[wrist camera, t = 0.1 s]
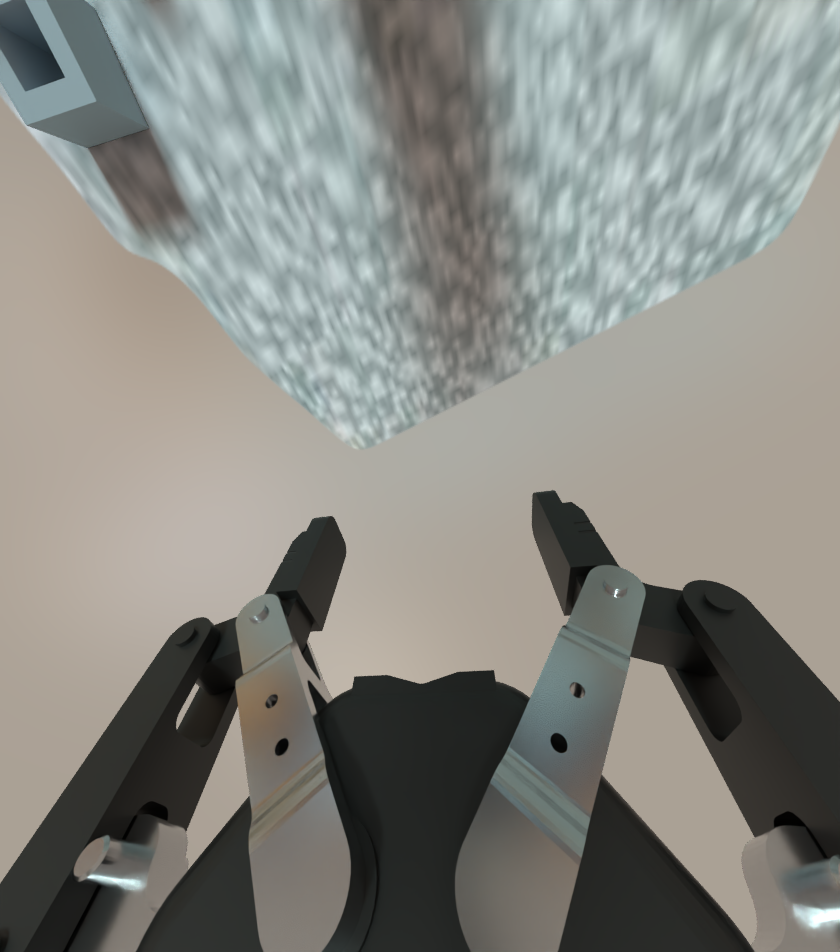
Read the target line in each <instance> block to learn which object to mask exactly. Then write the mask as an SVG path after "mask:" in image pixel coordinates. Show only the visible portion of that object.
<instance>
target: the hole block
mask: <svg viewBox="0 0 840 952" xmlns="http://www.w3.org/2000/svg"><path fill="white" fill-rule="evenodd" d="M0 82H1V84H2V86H3V87H4V89H5V91H6V92H7V94H8V96H9V97H10V99H11V101H12V102H13V104H14V106H15V107H16V109H17V111H18V112H19V114H20V116H21V117H22V119H23V121H24V122H25V124H26V125H27V126H30V127H32V128H35V129H38V130H40V131H43V132H46V133H48V134H51V135H54V136H56V137H59V138H62V139H64V140H67V141H70V142H72V143H75V144H78V145H80V146H83V147H86V148H89V147H92V146H96V145H99V144H102V143H105V142H108V141H111V140H114V139H118V138H121V137H124V136H127V135H130V134H133V133H136V132H140V131H143V130H146V129H149V127H148V125H147V123H146V121H145V119H144V116H143V114H142V112H141V110H140V108H139V105H138V103H137V101H136V99H135V97H134V94H133V92H132V90H131V88H130V86H129V83H128V81H127V79H126V77H125V75H124V72H123V70H122V68H121V66H120V64H119V61H118V59H117V57H116V55H115V53H114V50H113V48H112V46H111V44H110V42H109V39H108V37H107V35H106V33H105V30H104V28H103V26H102V24H101V22H100V19H99V17H98V15H97V13H96V11H95V8H93V7H92V6H91V5H90V4H88V3H87V2H86V1H85V0H0Z"/></svg>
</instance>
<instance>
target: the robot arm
mask: <svg viewBox="0 0 840 952" xmlns="http://www.w3.org/2000/svg"><path fill="white" fill-rule="evenodd" d="M532 528H533V534H534V538H535V541H536V543H537V546H538V548H539V551H540V554H541V556H542V559H543V561H544V564H545V566H546V569H547V572H548V574H549V577H550V580H551V582H552V585H553V588H554V590H555V593H556V595H557V598H558V600H559V603H560V606H561V608H562V611H563V613H564V616H566V615H570V618H569V620H568V622H567V624H566V626H562V628H561V630H560V632H559V634H558V636H557V638H556V641H555V643H554V645H553V647H552V650H551V652H550V654H549V656H548V659H547V661H546V663H545V666H544V668H543V670H542V672H541V675H540V677H539V679H538V681H537V684H536V686H535V688H534V691H533V693H532V695H531V697H530V698H529V697H528V696H527V695H525V694H524V693H522V692H521V691H519V690H517V689H515V688H514V687H511V686H509V685H506V684H504V683H500V682H496V681H495V675H494V670H491V671H469V672H457V673H454V674H451V675H448V676H445V677H442V678H439V679H436V680H433V681H430V682H427V683H424V684H418V683H415V682H411V681H407V680H403V679H399V678H396V677H392V676H388V675H381V676H359V677H354V682H353V688H352V689H350V690H348V691H346V692H344V693H342V694H340V695H339V696H337V697H335V698H334V699H333V698H332V697H331V695H330V693H329V691H328V689H327V687H326V685H325V682H324V680H323V677H322V674H321V672H320V669H319V667H318V664H317V662H316V659H315V656H314V654H313V651H312V648H311V646H310V643H309V642H308V637H309V634H310V632H312V631H322V629H323V627H324V623H325V620H326V617H327V614H328V611H329V608H330V604H331V601H332V598H333V595H334V592H335V589H336V585H337V582H338V579H339V576H340V573H341V570H342V566H343V563H344V560H345V557H346V545H345V541H344V539H343V537H342V534H341V532H340V530H339V527H338V525H337V523H336V521H335V519H334V517H332V516H328V517H319V518H314V519H312V521H311V523H310V525H309V527H308V529H307V531H305V532H302V533H301V534H300V535H299V536H298V537H297V538H296V539H295V540H294V541H293V542H292V544H291V546H290V548H289V550H288V552H287V554H286V555H285V557H284V559H283V562H282V563H281V564H280V566H279V568H278V570H277V572H276V574H275V576H274V578H273V579H272V581H271V583H270V585H269V587H268V589H267V591H266V593H265V594H264V595H261V596H259V597H257V598H255V599H253V600H252V601H250V602H249V603H248V604H247V605H246V606H245V607H244V608H243V609H242V610H241V611H240V613H239V615H238V617H235V618H233V619H230V620H227V621H225V622H222V623H219V624H216V625H213V623H212V622H210V620H209V619H207V618H204V617H201V618H196V619H193V620H191V621H189V622H187V623H185V624H184V625H182V626H181V627H180V628H178V629H177V630H176V631H175V632H174V633H173V634H172V635H171V636H170V637H169V638H168V640H167V641H166V643H165V644H164V646H163V647H162V648H161V650H160V651H159V653H158V654H157V656H156V657H155V659H154V660H153V662H152V663H151V664H150V666H149V667H148V669H147V670H146V672H145V673H144V675H143V676H142V678H141V679H140V681H139V682H138V683H137V685H136V686H135V688H134V689H133V691H132V693H131V694H130V695H129V697H128V698H127V700H126V701H125V703H124V704H123V705H122V707H121V708H120V710H119V711H118V713H117V714H116V716H115V717H114V719H113V720H112V722H111V723H110V724H109V726H108V727H107V729H106V730H105V732H104V733H103V735H102V736H101V738H100V739H99V741H98V742H97V743H96V745H95V746H94V748H93V749H92V751H91V752H90V754H89V755H88V756H87V758H86V759H85V761H84V762H83V764H82V765H81V767H80V768H79V770H78V771H77V772H76V774H75V775H74V777H73V778H72V780H71V781H70V783H69V784H68V786H67V787H66V789H65V790H64V791H63V793H62V794H61V796H60V797H59V799H58V800H57V802H56V803H55V805H54V806H53V808H52V809H51V811H50V812H49V813H48V815H47V816H46V818H45V819H44V821H43V822H42V824H41V825H40V827H39V828H38V829H37V831H36V832H35V834H34V835H33V837H32V838H31V840H30V841H29V843H28V844H27V845H26V847H25V848H24V850H23V851H22V853H21V854H20V856H19V857H18V859H17V860H16V862H15V863H14V864H13V866H12V867H11V869H10V870H9V872H8V873H7V875H6V876H5V878H4V879H3V881H2V882H1V884H0V952H840V702H839V701H838V700H837V698H836V697H835V696H834V695H833V694H832V693H831V692H830V691H829V689H828V688H827V687H826V686H825V685H824V684H823V683H822V682H821V681H820V679H819V678H818V677H817V676H816V675H815V674H814V673H813V672H812V671H811V669H810V668H809V667H808V666H807V665H806V664H805V663H804V661H803V660H802V659H801V658H800V657H799V656H798V655H797V654H796V653H795V651H794V650H793V649H792V648H791V647H790V646H789V645H788V644H787V643H786V641H785V640H784V639H783V638H782V637H781V636H780V635H779V634H778V632H777V631H776V630H775V629H774V628H773V627H772V626H771V625H770V623H769V622H768V621H767V620H766V619H765V618H764V617H763V616H762V614H761V613H760V612H759V611H758V610H757V609H756V608H755V607H754V605H753V604H752V603H751V602H750V601H749V600H748V599H747V598H745V597H744V596H743V595H742V594H740V593H739V592H737V591H736V590H734V589H732V588H730V587H728V586H725V585H723V584H720V583H717V582H713V581H706V580H697V581H692V582H690V583H688V584H687V585H685V587H684V588H683V591H681V590H675V589H669V588H663V587H657V586H653V585H648V584H645V583H642V582H641V581H640V580H639V578H638V577H636V576H635V575H634V574H633V573H631V572H629V571H628V570H626V569H623V568H621V567H619V565H618V564H617V562H616V561H615V559H614V558H613V556H612V555H611V553H610V551H609V550H608V548H607V547H606V545H605V544H604V542H603V540H602V539H601V537H600V536H599V534H598V533H597V532H596V530H595V528H594V526H593V525H592V523H590V520H589V519H588V517H587V515H586V514H585V512H584V511H583V510H582V509H580V508H579V507H578V506H576V505H575V504H573V503H572V502H568V503H562V502H561V500H560V498H559V497H558V495H557V493H556V492H555V491H553V490H552V491H544V492H536V493H533V499H532ZM630 657H634V658H638V659H642V660H646V661H650V662H654V663H657V664H661V665H664V667H665V668H666V670H667V672H668V674H669V676H670V678H671V680H672V682H673V683H674V685H675V687H676V689H677V691H678V693H679V695H680V697H681V699H682V701H683V703H684V704H685V706H686V708H687V710H688V712H689V714H690V716H691V718H692V720H693V721H694V723H695V725H696V727H697V729H698V731H699V733H700V735H701V736H702V738H703V740H704V742H705V744H706V746H707V748H708V750H709V752H710V754H711V755H712V757H713V759H714V761H715V763H716V765H717V767H718V768H719V771H720V773H721V774H722V776H723V778H724V780H725V782H726V784H727V786H728V787H729V790H730V791H731V793H732V795H733V797H734V799H735V801H736V803H737V805H738V806H739V808H740V810H741V812H742V814H743V816H744V818H745V820H746V822H747V824H748V825H749V827H750V829H751V831H752V833H753V835H754V837H755V838H753V839H752V840H750V841H749V842H747V844H746V845H745V847H744V849H743V852H742V869H743V873H744V877H745V880H746V883H747V886H748V888H749V891H750V894H751V896H752V899H753V902H754V906H755V910H756V917H757V933H756V936H755V940H754V942H753V943H752V945H750V944H749V942H748V941H747V939H746V938H745V937H744V936H743V934H742V933H741V931H740V930H739V929H738V927H737V926H736V925H735V923H734V922H733V921H732V920H731V919H730V917H729V916H728V915H727V914H726V912H725V911H724V910H723V909H722V908H721V907H720V906H719V905H718V903H717V902H716V901H715V900H714V899H713V898H712V897H711V896H710V895H709V893H708V892H707V891H706V890H705V889H704V888H703V887H702V886H701V884H700V883H699V882H698V881H697V880H696V879H695V878H694V877H693V876H692V874H691V873H690V872H689V871H688V870H687V869H686V868H685V867H684V866H683V865H682V863H681V862H680V861H679V860H678V859H677V858H676V857H675V856H674V855H673V853H672V852H671V851H670V850H669V849H668V848H667V847H666V846H665V845H664V843H663V842H662V841H661V840H660V839H659V838H658V837H657V836H656V834H655V833H654V832H653V831H652V830H651V829H650V828H649V827H648V826H647V824H646V823H645V822H644V821H643V820H642V819H641V818H640V817H639V816H638V815H637V813H636V812H635V811H634V810H633V809H632V808H631V807H630V806H629V805H628V803H627V802H626V801H625V800H624V799H623V798H622V797H621V796H620V794H619V793H618V792H617V791H616V790H615V789H614V788H613V787H612V786H611V785H610V783H609V782H608V781H607V780H606V779H605V778H604V777H603V776H602V770H603V766H604V763H605V758H606V754H607V751H608V747H609V742H610V739H611V735H612V731H613V727H614V723H615V719H616V715H617V711H618V707H619V703H620V699H621V695H622V691H623V688H624V684H625V679H626V676H627V672H628V667H629V663H630ZM195 683H196V684H197V685H198V686H200V687H199V689H198V691H197V693H196V695H195V697H194V699H193V701H192V703H191V705H190V707H189V708H188V710H187V712H186V714H185V716H184V718H183V720H182V722H181V724H180V726H179V727H178V729H176V721H177V717H178V714H179V712H180V710H181V708H182V706H183V705H184V703H185V701H186V699H187V697H188V696H189V694H190V692H191V690H192V688H193V686H194V684H195ZM237 707H238V709H239V717H240V725H241V732H242V740H243V747H244V756H245V764H246V771H247V779H248V787H249V794H250V796H249V797H248V798H247V799H246V801H245V802H244V803H243V804H242V805H241V807H240V808H239V809H238V810H237V811H236V813H235V814H234V815H233V816H232V818H231V819H230V820H229V821H228V823H227V824H226V825H225V826H224V827H223V828H222V830H221V831H220V832H219V833H218V835H217V836H216V837H215V838H214V839H213V841H212V842H211V843H210V844H209V846H208V847H207V848H206V849H205V850H204V852H203V853H202V854H201V855H200V856H199V858H198V859H197V860H196V861H195V862H194V864H193V865H192V866H191V867H190V869H189V870H188V859H187V858H186V852H187V843H188V842H187V834H186V831H187V828H188V826H189V823H190V821H191V818H192V816H193V814H194V811H195V809H196V806H197V804H198V801H199V799H200V797H201V794H202V792H203V789H204V787H205V784H206V782H207V780H208V777H209V775H210V772H211V770H212V767H213V765H214V763H215V760H216V758H217V755H218V753H219V750H220V748H221V746H222V743H223V741H224V738H225V736H226V733H227V731H228V729H229V726H230V724H231V721H232V719H233V716H234V714H235V712H236V709H237Z"/></svg>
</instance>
